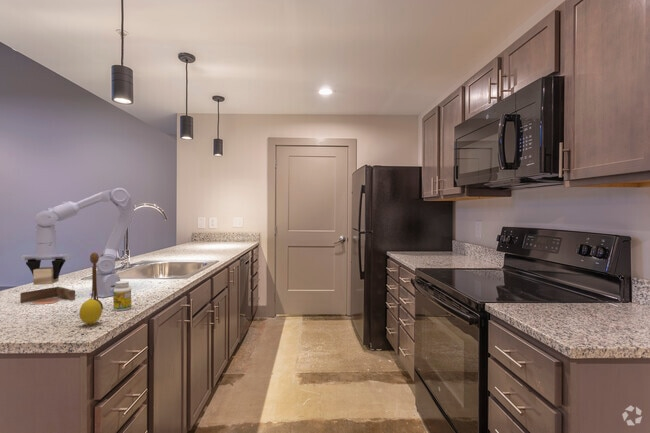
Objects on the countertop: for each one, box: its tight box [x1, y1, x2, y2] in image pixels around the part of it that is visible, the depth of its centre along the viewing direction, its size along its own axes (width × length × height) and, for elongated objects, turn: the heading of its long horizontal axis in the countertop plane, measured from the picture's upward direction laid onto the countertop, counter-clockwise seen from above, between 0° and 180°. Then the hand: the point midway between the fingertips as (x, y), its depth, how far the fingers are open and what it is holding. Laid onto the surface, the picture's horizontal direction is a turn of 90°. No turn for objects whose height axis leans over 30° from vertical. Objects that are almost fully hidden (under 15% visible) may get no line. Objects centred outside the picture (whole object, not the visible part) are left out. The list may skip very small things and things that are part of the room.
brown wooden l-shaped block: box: [19, 286, 76, 304], centre depth 126 cm, size 13×12×4 cm
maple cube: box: [32, 266, 60, 286], centre depth 125 cm, size 6×6×6 cm
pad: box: [29, 297, 63, 306], centre depth 126 cm, size 7×7×1 cm
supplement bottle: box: [112, 280, 132, 312], centre depth 117 cm, size 5×5×10 cm
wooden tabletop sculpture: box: [89, 252, 104, 310], centre depth 117 cm, size 6×5×20 cm
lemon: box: [79, 298, 103, 326], centre depth 101 cm, size 6×6×8 cm
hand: (46, 279), depth 125 cm, fingers closed on maple cube, 5 cm apart
